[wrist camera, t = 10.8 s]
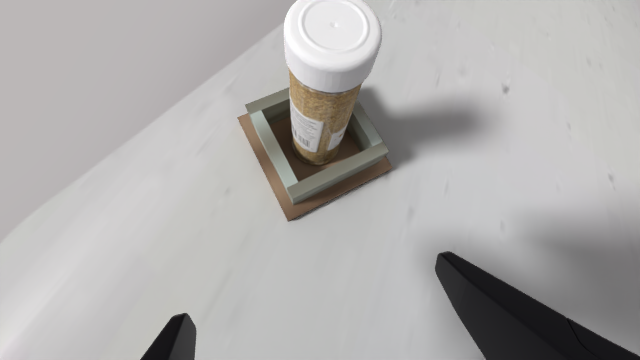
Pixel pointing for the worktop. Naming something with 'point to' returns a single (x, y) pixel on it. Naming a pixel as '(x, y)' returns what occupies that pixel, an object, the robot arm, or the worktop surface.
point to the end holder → (304, 179)
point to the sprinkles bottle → (327, 70)
